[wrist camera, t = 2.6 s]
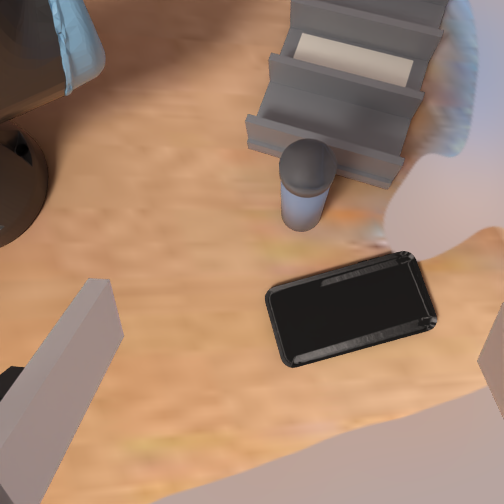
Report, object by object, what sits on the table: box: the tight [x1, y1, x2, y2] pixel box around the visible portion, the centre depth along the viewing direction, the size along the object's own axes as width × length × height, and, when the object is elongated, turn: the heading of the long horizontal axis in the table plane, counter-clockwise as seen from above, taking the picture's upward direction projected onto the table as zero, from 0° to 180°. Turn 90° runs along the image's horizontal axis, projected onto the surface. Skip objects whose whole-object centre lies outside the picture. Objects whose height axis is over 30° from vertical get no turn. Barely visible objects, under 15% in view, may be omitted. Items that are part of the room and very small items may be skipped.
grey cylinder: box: [279, 138, 337, 232], centre depth 36 cm, size 4×4×12 cm
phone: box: [265, 251, 437, 368], centre depth 39 cm, size 8×1×15 cm
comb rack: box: [245, 0, 449, 189], centre depth 41 cm, size 15×22×5 cm
